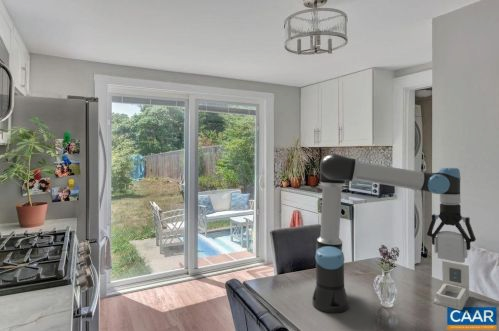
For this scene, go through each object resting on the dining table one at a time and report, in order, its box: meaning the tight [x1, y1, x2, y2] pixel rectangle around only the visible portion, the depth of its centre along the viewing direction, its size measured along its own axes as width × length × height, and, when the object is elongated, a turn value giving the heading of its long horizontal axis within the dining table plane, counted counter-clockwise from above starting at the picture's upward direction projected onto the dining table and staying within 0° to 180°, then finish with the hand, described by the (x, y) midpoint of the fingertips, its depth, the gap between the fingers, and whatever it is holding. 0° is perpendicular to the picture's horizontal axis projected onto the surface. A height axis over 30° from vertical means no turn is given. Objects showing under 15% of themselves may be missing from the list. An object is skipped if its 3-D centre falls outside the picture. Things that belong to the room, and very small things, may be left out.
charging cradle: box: [433, 259, 470, 311], centre depth 134 cm, size 10×18×14 cm, turn 136°
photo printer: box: [436, 230, 466, 264], centre depth 133 cm, size 10×4×12 cm, turn 39°
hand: (450, 254), depth 133 cm, fingers closed on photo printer, 10 cm apart
